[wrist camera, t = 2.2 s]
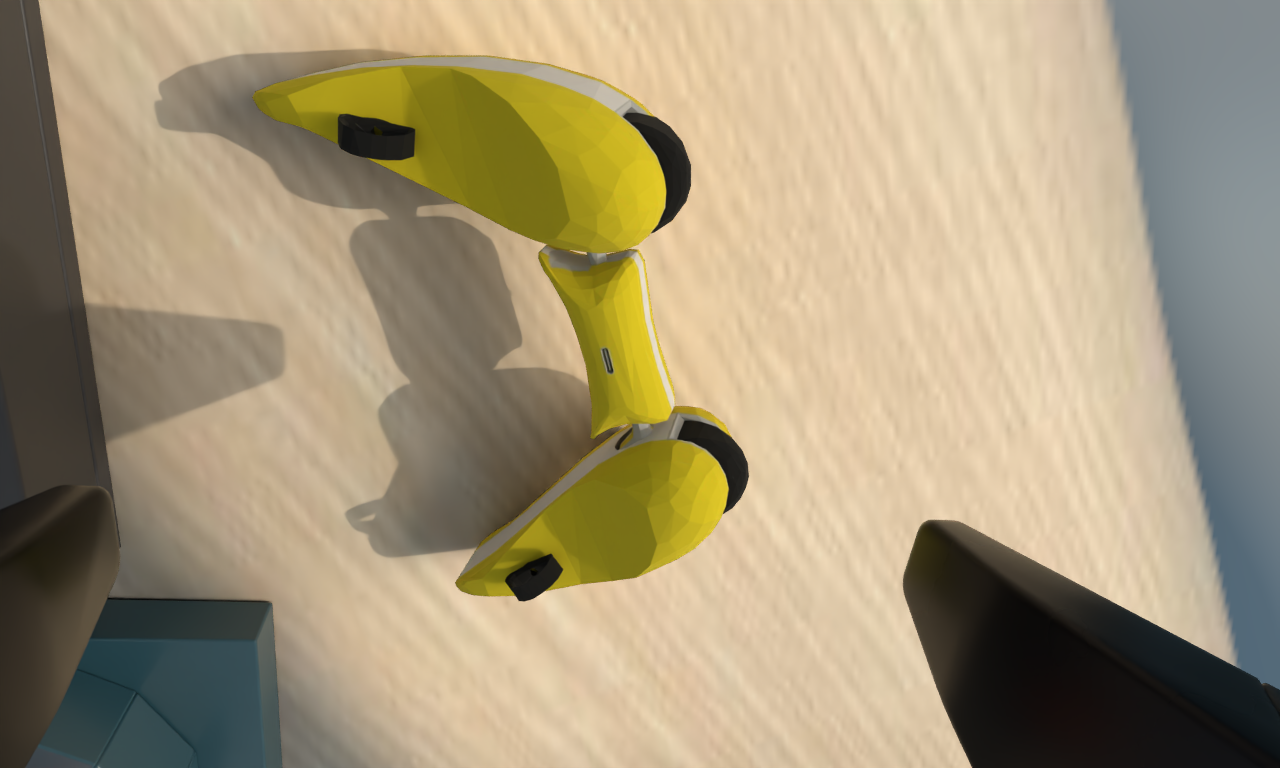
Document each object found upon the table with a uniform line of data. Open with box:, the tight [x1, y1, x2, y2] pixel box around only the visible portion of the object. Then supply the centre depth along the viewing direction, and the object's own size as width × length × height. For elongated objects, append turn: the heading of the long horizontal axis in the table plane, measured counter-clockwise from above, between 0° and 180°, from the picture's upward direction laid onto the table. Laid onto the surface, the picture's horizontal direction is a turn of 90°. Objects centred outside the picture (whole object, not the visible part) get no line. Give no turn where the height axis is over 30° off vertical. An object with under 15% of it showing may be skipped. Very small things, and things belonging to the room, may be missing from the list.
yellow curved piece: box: [252, 56, 749, 601], centre depth 14 cm, size 10×6×4 cm, turn 13°
